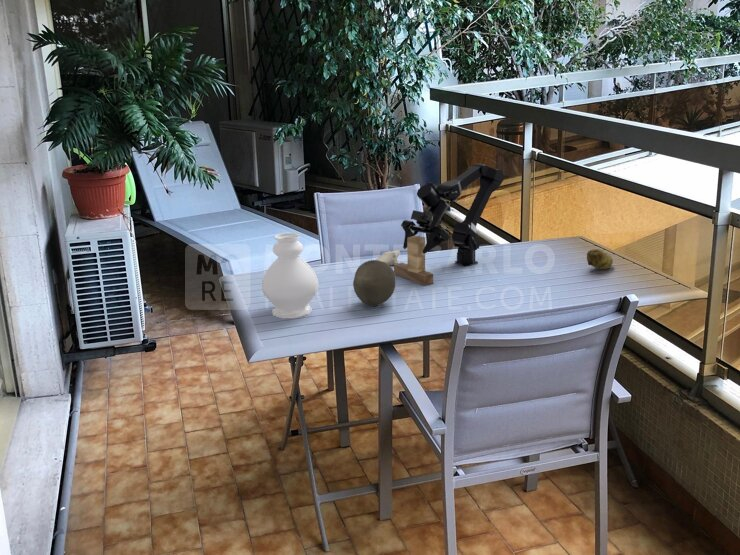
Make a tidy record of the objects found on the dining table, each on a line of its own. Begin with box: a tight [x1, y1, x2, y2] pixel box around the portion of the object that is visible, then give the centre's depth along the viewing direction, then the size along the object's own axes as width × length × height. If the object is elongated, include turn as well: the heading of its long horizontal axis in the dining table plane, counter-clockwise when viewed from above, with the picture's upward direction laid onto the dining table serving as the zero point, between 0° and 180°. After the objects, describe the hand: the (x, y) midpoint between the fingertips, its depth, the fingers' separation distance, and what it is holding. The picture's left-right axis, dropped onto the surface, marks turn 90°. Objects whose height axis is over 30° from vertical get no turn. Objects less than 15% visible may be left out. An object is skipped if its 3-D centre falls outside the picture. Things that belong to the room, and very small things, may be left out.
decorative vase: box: [261, 232, 319, 320], centre depth 232 cm, size 18×18×25 cm
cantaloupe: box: [352, 259, 397, 307], centre depth 237 cm, size 14×14×15 cm
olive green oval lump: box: [586, 248, 614, 270], centre depth 269 cm, size 8×13×8 cm, turn 116°
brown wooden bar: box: [393, 262, 434, 286], centre depth 265 cm, size 4×18×4 cm, turn 34°
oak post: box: [406, 234, 426, 273], centre depth 261 cm, size 4×4×12 cm
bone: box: [375, 249, 400, 266], centre depth 277 cm, size 8×21×6 cm, turn 146°
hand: (413, 250), depth 260 cm, fingers open, 9 cm apart
